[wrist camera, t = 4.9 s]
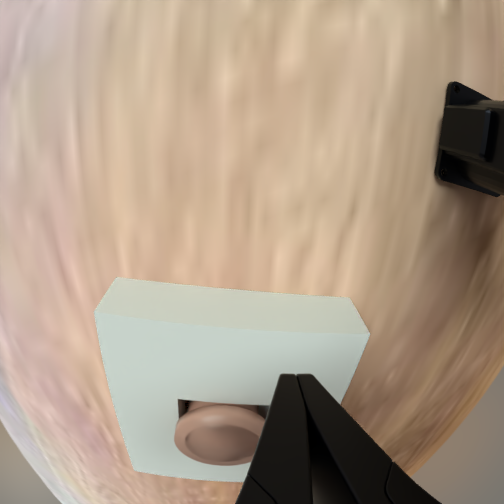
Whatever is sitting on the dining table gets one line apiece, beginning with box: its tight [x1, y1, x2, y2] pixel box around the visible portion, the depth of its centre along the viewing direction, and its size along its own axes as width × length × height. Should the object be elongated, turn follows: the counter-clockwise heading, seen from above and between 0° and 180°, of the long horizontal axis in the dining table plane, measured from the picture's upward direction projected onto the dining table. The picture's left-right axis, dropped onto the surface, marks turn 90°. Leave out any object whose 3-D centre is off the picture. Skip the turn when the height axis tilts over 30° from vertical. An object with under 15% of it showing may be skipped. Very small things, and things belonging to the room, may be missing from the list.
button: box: [174, 400, 265, 466], centre depth 20 cm, size 6×6×4 cm
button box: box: [94, 277, 370, 482], centre depth 21 cm, size 15×18×4 cm
